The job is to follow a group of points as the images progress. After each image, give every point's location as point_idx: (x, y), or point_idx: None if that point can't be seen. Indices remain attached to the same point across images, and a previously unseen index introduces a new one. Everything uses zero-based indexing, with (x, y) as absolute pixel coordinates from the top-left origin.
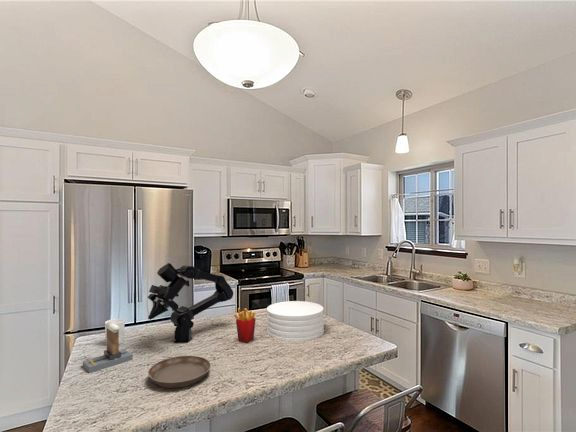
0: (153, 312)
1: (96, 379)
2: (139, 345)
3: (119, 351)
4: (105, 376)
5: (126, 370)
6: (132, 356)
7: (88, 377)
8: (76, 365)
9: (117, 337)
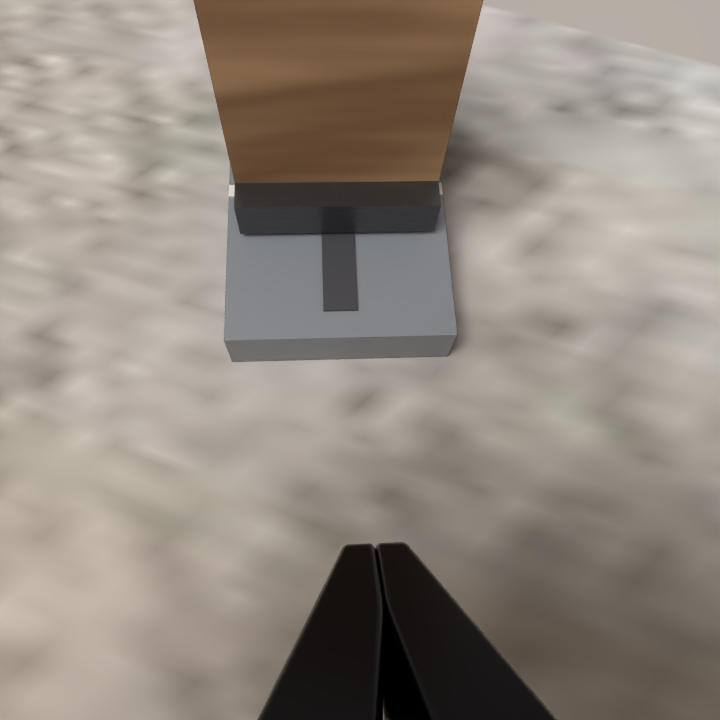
0: (267, 712)
1: (74, 56)
2: (626, 575)
3: (278, 203)
4: (67, 106)
5: (28, 243)
6: (227, 348)
7: (162, 33)
8: (476, 31)
9: (204, 24)
